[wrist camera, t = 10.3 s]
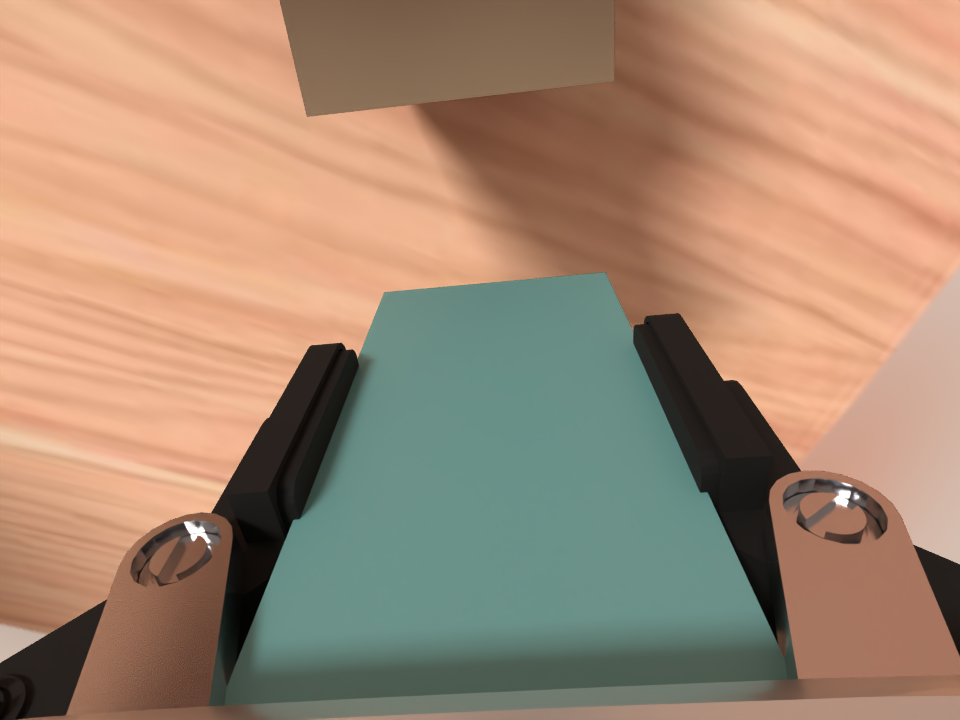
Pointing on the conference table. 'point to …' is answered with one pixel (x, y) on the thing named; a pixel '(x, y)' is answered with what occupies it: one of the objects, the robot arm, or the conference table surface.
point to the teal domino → (502, 518)
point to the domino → (443, 49)
